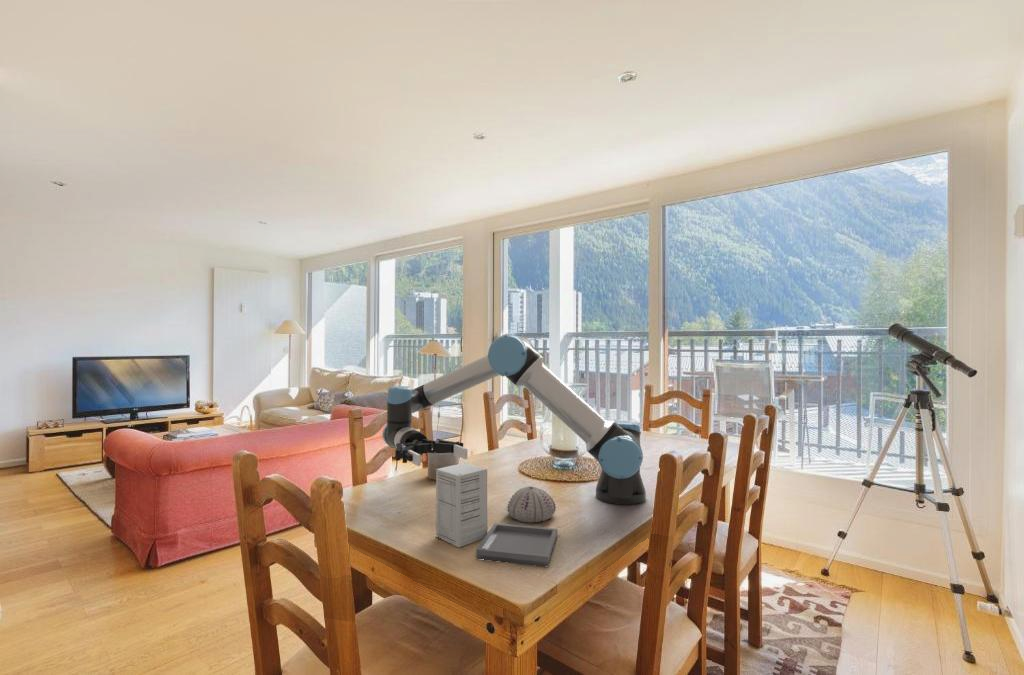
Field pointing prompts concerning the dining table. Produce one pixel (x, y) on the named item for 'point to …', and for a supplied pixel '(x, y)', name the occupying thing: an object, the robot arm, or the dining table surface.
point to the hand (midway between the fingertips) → (443, 457)
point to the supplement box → (461, 504)
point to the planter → (440, 462)
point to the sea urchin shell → (531, 505)
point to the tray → (518, 544)
